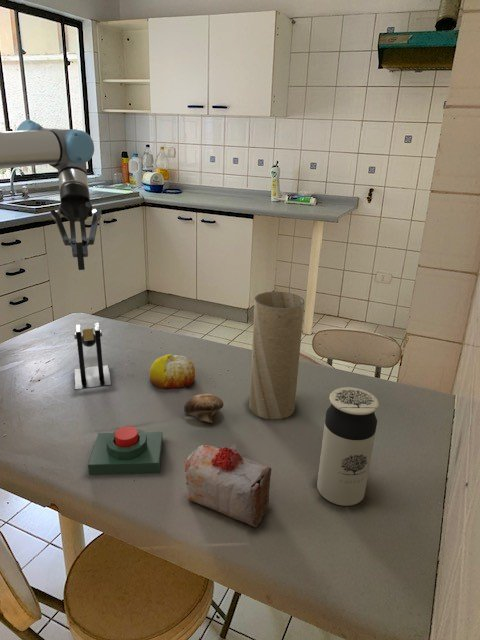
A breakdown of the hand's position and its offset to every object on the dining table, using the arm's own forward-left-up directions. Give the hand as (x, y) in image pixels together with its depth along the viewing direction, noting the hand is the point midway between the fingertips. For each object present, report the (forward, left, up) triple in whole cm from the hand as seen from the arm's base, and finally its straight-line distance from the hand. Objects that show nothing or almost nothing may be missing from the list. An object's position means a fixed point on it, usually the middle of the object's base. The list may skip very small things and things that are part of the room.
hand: (81, 267), depth 117 cm
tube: (+46, -30, -23) cm, 59 cm away
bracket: (+5, -18, -23) cm, 29 cm away
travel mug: (+54, -56, -23) cm, 81 cm away
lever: (+4, -14, -15) cm, 21 cm away
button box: (+17, -46, -23) cm, 54 cm away
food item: (+34, -58, -23) cm, 71 cm away
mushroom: (+31, -34, -23) cm, 51 cm away
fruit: (+24, -19, -23) cm, 38 cm away
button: (+17, -46, -19) cm, 52 cm away
